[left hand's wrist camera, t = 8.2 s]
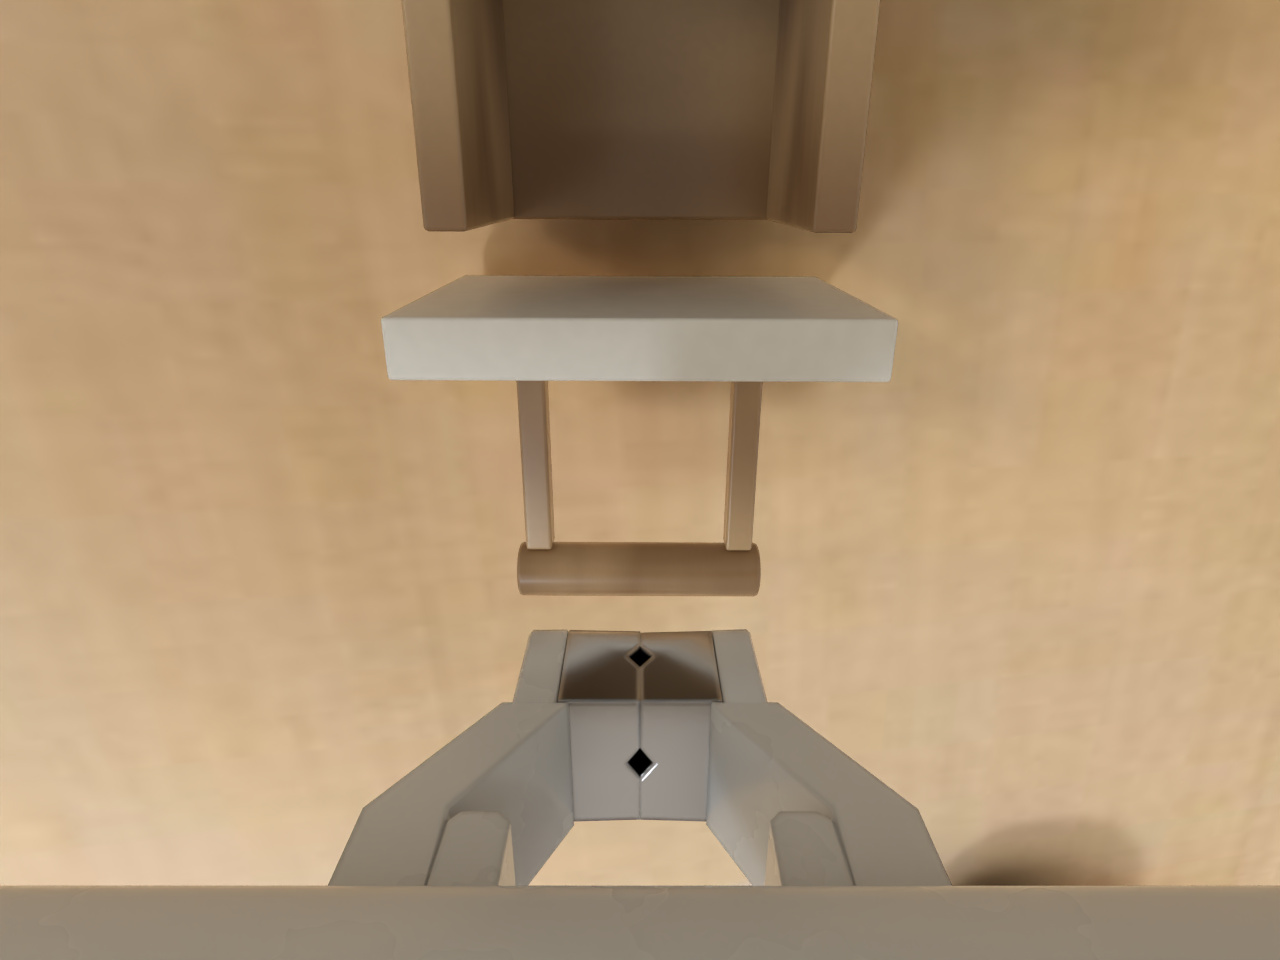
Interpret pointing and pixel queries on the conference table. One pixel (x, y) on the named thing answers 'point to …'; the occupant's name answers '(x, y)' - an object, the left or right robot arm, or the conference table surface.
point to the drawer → (640, 189)
